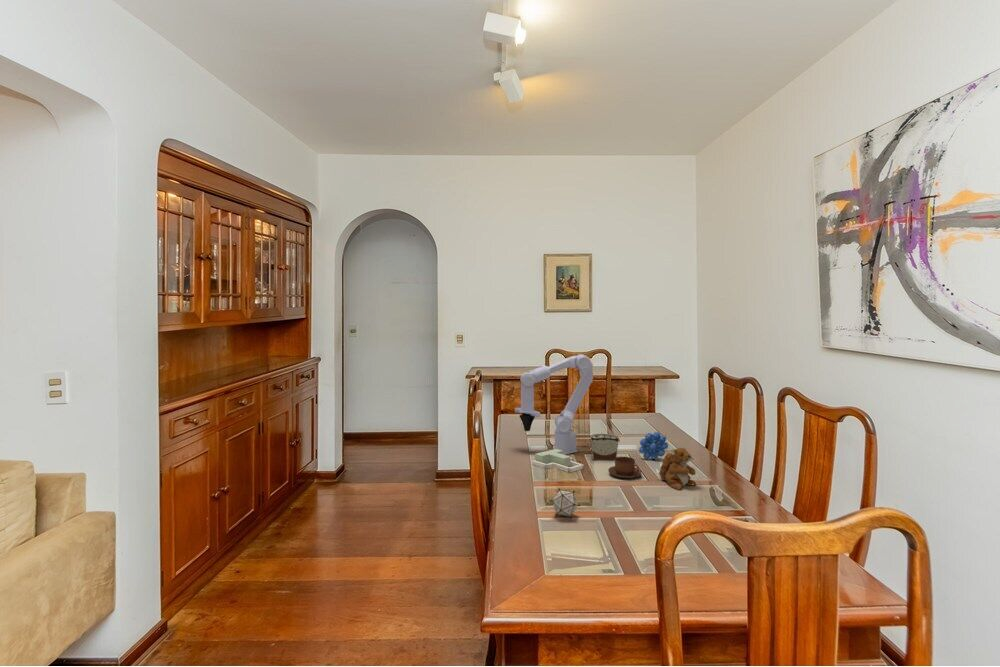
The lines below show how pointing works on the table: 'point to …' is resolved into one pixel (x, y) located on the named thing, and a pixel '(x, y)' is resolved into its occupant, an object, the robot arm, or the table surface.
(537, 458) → the T block
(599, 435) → the food container
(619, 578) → the table surface
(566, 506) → the game die
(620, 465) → the cup and saucer
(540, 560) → the table surface
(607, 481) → the table surface
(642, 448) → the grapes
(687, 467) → the stuffed squirrel
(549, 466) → the T socket
